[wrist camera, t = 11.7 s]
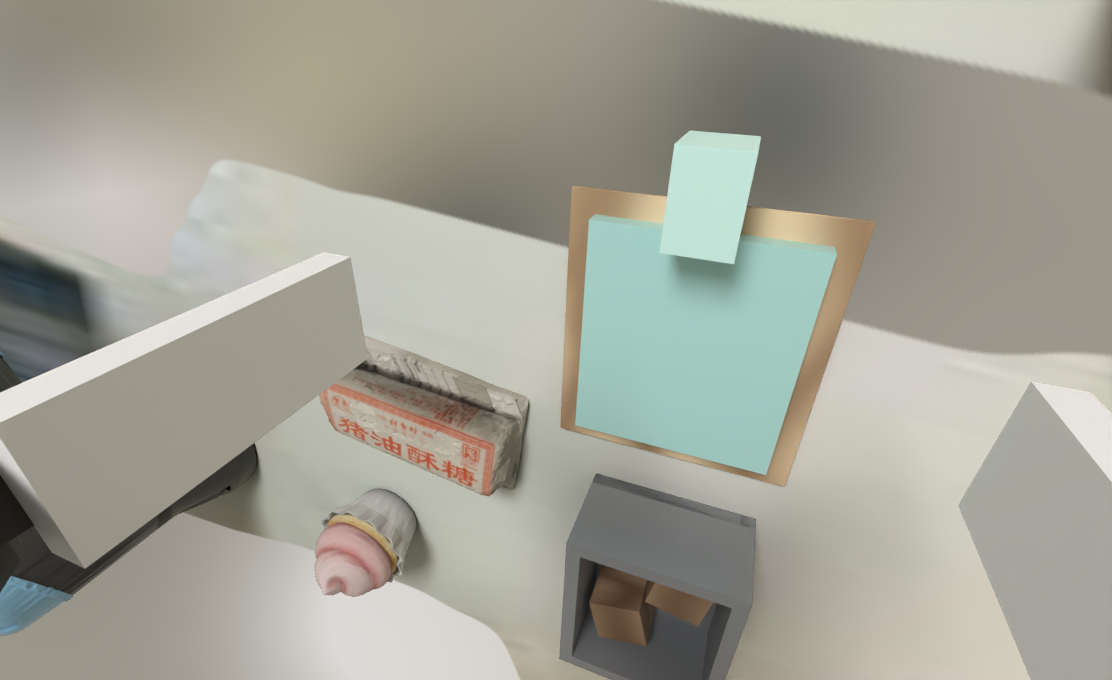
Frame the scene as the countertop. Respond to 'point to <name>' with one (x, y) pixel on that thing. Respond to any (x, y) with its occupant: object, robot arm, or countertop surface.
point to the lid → (697, 315)
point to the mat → (761, 222)
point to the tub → (658, 581)
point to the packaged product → (431, 417)
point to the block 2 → (678, 603)
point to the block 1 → (621, 606)
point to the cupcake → (364, 543)
